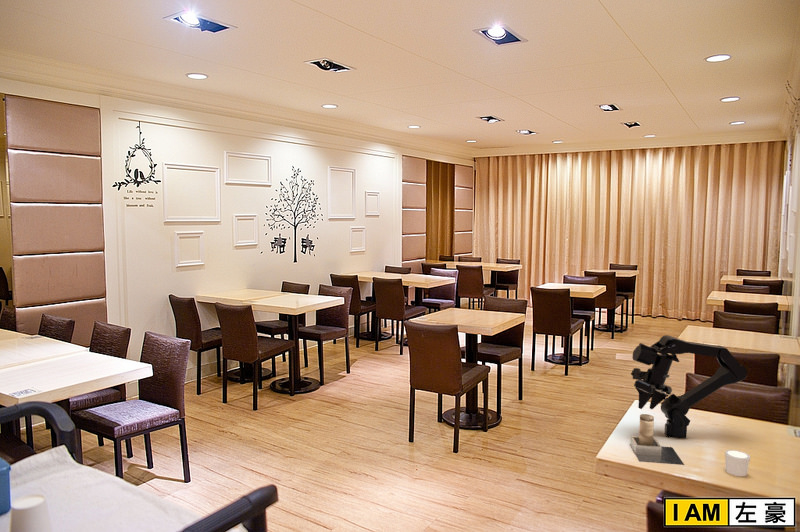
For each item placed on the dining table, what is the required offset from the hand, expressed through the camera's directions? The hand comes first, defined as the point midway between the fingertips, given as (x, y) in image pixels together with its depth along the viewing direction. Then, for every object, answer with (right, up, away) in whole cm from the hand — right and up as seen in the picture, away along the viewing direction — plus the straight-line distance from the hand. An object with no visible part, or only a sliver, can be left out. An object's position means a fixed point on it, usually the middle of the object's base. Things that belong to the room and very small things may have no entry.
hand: (645, 408), depth 205 cm
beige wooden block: (-5, -11, -12) cm, 17 cm away
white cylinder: (+16, -14, -28) cm, 36 cm away
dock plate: (-3, -13, -15) cm, 20 cm away
